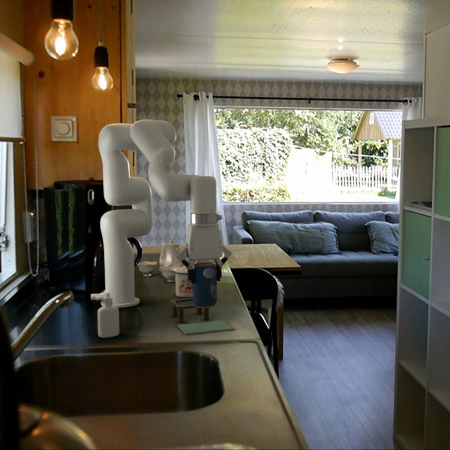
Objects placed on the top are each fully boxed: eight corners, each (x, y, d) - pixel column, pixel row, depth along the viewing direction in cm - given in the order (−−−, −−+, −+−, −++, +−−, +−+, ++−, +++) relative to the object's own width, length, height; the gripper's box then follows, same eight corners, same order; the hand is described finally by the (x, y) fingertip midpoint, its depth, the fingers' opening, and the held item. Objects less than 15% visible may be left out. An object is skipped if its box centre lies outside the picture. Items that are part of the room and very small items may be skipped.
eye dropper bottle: (99, 334, 180) (97, 291, 179) (119, 333, 181) (118, 291, 180) (97, 338, 176) (96, 295, 174) (118, 337, 177) (117, 294, 175)
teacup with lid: (177, 298, 225) (176, 265, 224) (173, 293, 234) (172, 261, 232) (211, 296, 228) (210, 263, 227) (206, 291, 237) (205, 259, 236)
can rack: (178, 323, 192) (177, 306, 191) (170, 315, 201) (170, 299, 200) (211, 320, 195) (211, 303, 195) (202, 312, 205) (201, 297, 204)
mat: (185, 334, 179) (185, 333, 179) (177, 326, 189) (177, 324, 189) (233, 329, 185) (233, 328, 184) (223, 321, 194) (223, 320, 194)
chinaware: (130, 279, 268) (125, 240, 265) (161, 270, 281) (157, 232, 277) (174, 288, 250) (169, 246, 247) (205, 278, 262) (201, 238, 259)
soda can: (218, 307, 183) (217, 265, 182) (193, 308, 182) (192, 266, 181) (216, 302, 190) (215, 262, 189) (192, 303, 189) (191, 262, 187)
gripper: (229, 217, 190) (229, 277, 192) (170, 219, 183) (171, 281, 185) (237, 219, 183) (237, 281, 185) (177, 222, 177) (178, 286, 178)
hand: (204, 281), depth 185 cm, fingers closed on soda can, 7 cm apart
